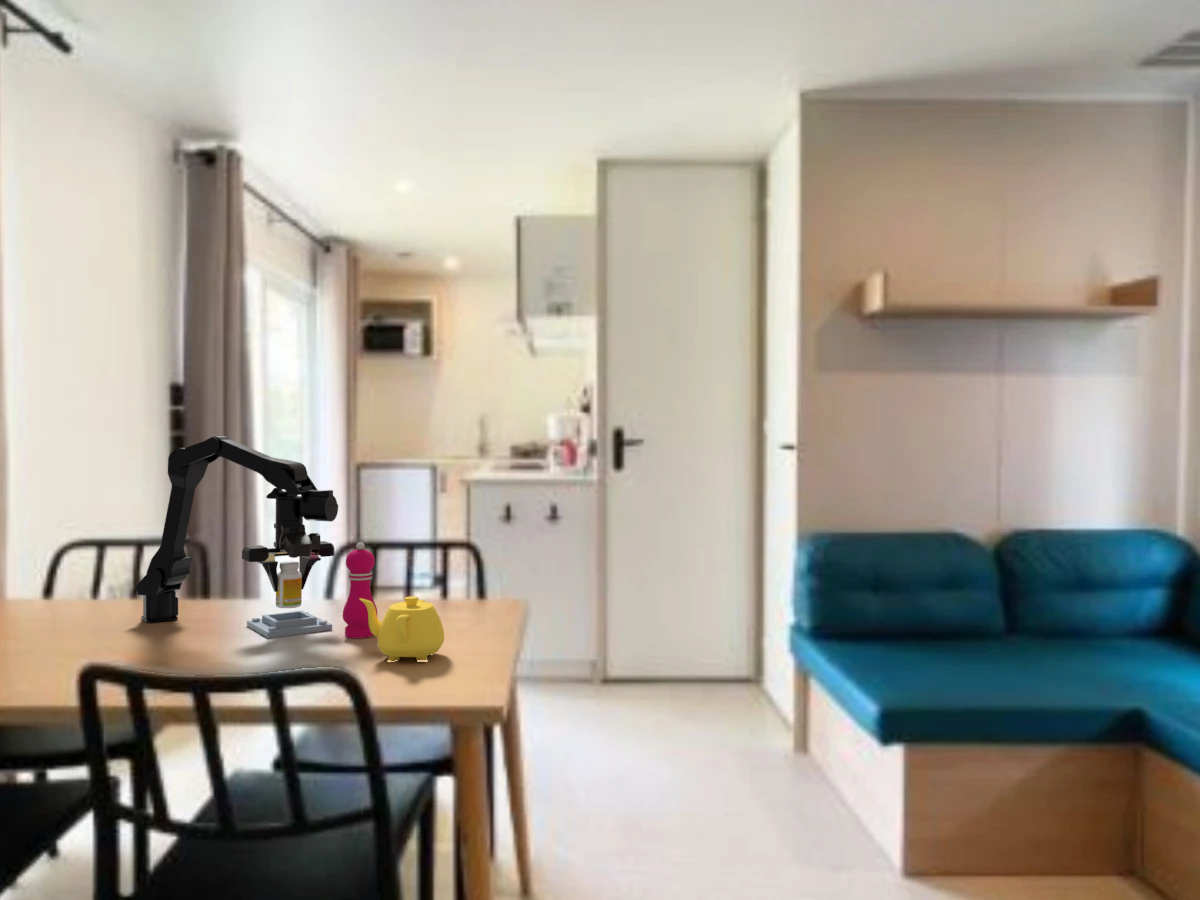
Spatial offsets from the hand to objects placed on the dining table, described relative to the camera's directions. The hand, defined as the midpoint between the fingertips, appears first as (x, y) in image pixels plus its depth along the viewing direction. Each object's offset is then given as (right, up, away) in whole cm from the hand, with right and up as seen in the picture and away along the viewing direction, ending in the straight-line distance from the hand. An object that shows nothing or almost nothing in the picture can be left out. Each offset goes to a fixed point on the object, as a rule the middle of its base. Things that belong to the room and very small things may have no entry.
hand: (288, 590), depth 208 cm
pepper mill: (+17, -9, -6) cm, 20 cm away
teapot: (+30, -10, -24) cm, 39 cm away
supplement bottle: (0, -4, 0) cm, 4 cm away
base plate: (0, -8, 0) cm, 8 cm away
